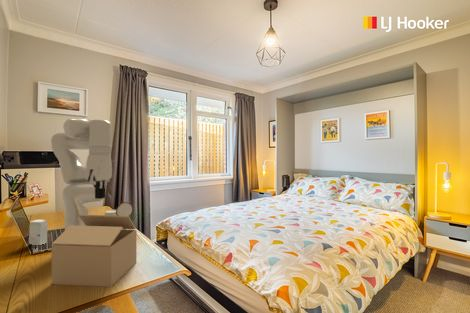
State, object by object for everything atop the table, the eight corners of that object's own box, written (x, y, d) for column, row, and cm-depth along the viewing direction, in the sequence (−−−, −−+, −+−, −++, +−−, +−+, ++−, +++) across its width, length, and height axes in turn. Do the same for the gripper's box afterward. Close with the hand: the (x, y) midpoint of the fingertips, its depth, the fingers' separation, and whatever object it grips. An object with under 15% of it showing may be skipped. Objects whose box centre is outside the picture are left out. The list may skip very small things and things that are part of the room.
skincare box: (28, 246, 115) (28, 221, 115) (36, 242, 119) (36, 219, 119) (40, 246, 115) (40, 222, 114) (48, 243, 119) (47, 219, 119)
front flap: (52, 244, 82) (52, 243, 82) (70, 226, 90) (70, 225, 90) (110, 246, 81) (109, 245, 81) (122, 227, 89) (122, 226, 89)
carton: (51, 284, 82) (51, 244, 82) (86, 260, 100) (86, 228, 100) (111, 286, 81) (111, 246, 81) (136, 262, 99) (136, 229, 99)
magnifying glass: (116, 241, 121) (116, 203, 121) (115, 240, 123) (115, 203, 122) (133, 237, 128) (133, 201, 127) (132, 236, 129) (132, 201, 128)
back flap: (78, 215, 94) (78, 214, 95) (88, 227, 100) (88, 226, 101) (128, 216, 93) (128, 215, 93) (135, 229, 99) (135, 228, 99)
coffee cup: (123, 230, 139) (123, 210, 139) (109, 234, 132) (109, 213, 132) (115, 227, 144) (115, 208, 144) (101, 231, 137) (101, 211, 136)
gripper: (102, 151, 99) (103, 194, 99) (76, 151, 84) (77, 201, 84) (119, 151, 99) (119, 194, 99) (96, 151, 84) (97, 202, 84)
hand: (100, 198), depth 92 cm, fingers closed
